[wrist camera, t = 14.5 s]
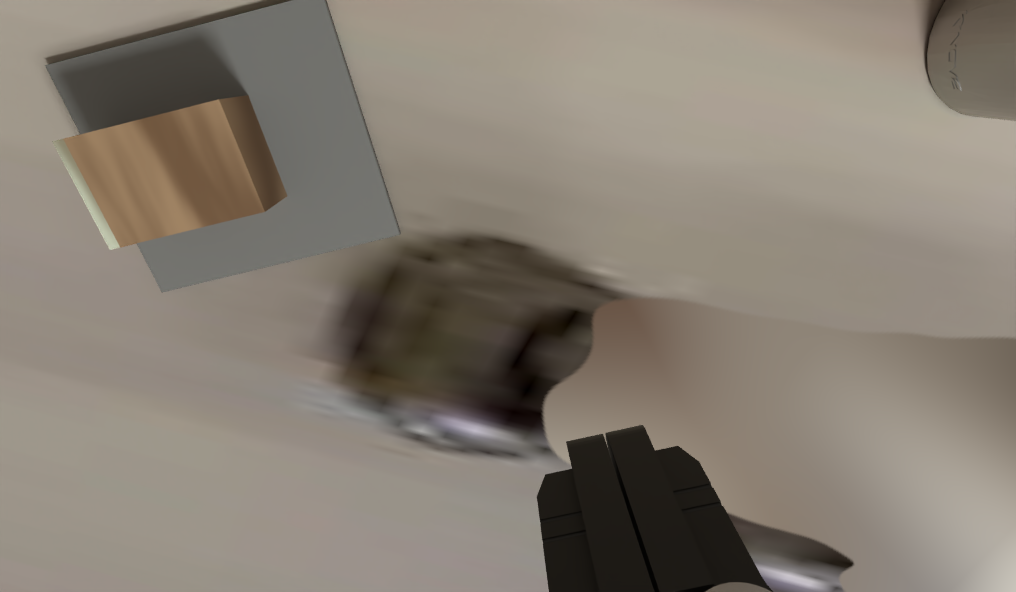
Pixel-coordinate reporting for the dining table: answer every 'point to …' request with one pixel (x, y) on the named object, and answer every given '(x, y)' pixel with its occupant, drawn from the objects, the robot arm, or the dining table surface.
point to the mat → (282, 117)
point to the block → (174, 171)
